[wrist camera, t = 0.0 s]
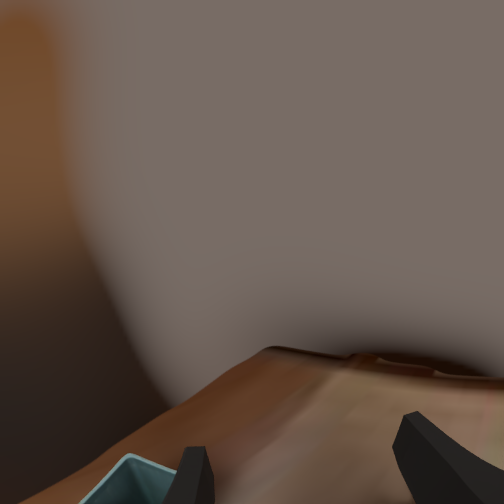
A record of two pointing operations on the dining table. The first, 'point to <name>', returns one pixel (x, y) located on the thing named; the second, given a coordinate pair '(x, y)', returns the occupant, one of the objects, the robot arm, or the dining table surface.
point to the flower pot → (133, 483)
